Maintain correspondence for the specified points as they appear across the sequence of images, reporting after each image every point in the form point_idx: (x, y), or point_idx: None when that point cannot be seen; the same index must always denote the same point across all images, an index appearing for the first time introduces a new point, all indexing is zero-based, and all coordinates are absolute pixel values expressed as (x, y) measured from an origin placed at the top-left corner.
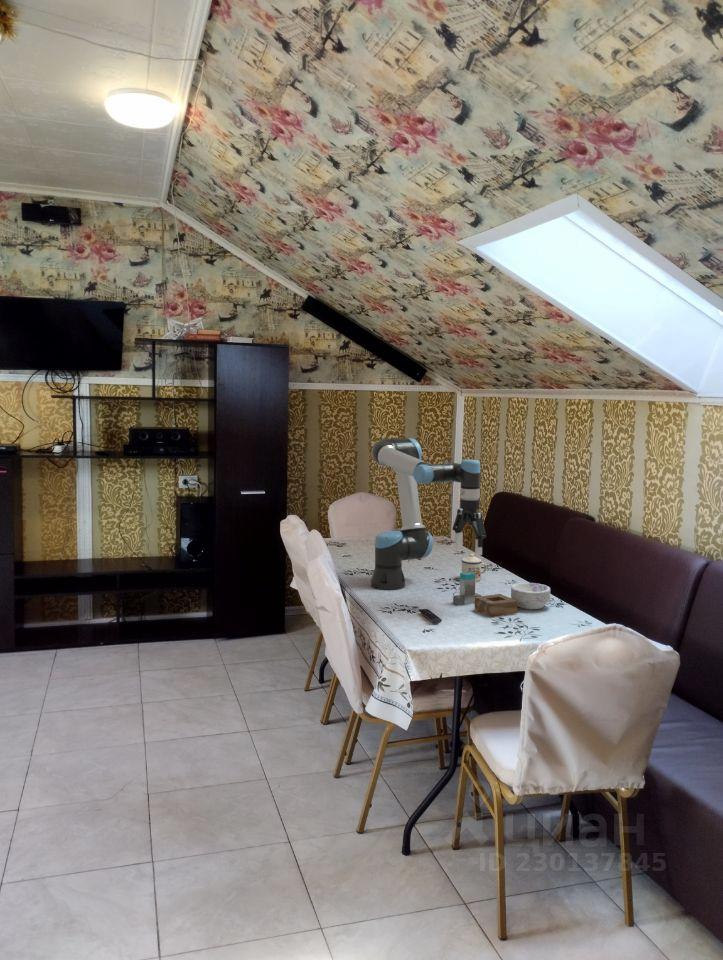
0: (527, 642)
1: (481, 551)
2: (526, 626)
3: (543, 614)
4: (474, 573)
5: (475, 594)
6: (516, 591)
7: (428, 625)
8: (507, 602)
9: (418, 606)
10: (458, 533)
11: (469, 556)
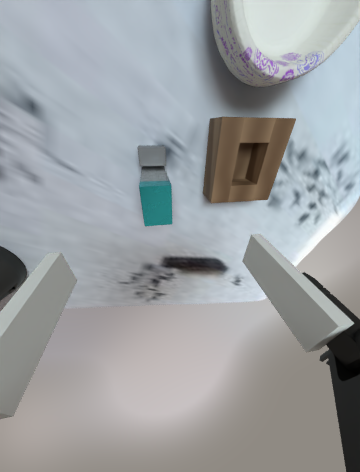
0: (347, 208)
1: (271, 248)
2: (323, 164)
3: None
4: (165, 185)
5: (153, 159)
6: (284, 80)
7: (224, 276)
8: (282, 156)
9: (147, 262)
10: (4, 408)
11: None
